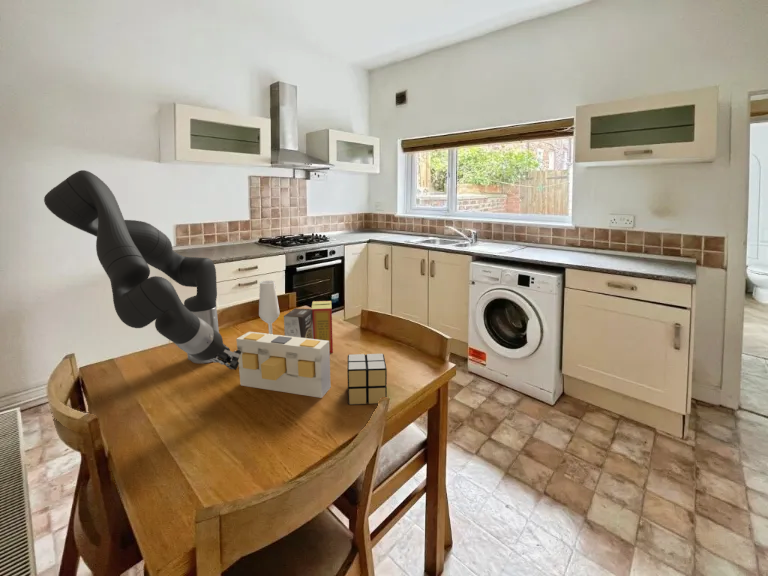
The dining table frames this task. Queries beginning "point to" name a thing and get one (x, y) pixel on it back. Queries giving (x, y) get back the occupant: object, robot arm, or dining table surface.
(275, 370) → the button
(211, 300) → the robot arm
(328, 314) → the baking soda box
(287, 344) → the block
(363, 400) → the puzzle cube
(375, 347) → the dining table surface
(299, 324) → the coffee box
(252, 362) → the button
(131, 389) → the dining table surface
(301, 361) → the button
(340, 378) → the dining table surface
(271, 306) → the champagne flute
